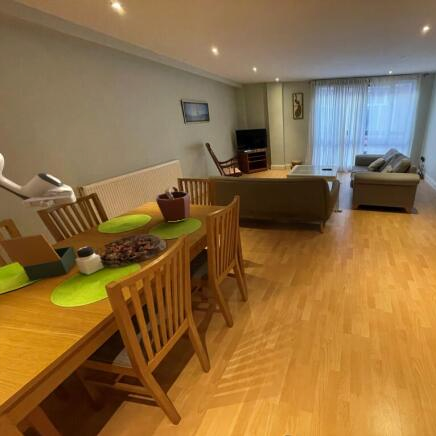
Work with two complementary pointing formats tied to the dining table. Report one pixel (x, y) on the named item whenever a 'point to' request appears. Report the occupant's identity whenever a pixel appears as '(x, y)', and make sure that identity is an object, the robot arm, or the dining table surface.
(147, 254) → the food dish
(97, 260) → the medicine bottle
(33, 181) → the robot arm
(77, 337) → the dining table surface
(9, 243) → the box lid
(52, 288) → the dining table surface
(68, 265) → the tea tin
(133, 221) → the dining table surface
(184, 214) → the bucket
